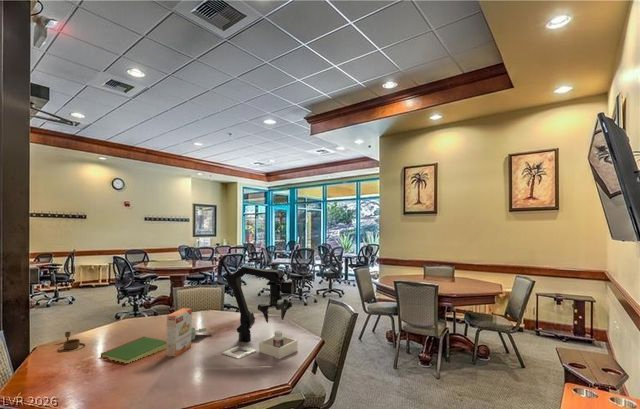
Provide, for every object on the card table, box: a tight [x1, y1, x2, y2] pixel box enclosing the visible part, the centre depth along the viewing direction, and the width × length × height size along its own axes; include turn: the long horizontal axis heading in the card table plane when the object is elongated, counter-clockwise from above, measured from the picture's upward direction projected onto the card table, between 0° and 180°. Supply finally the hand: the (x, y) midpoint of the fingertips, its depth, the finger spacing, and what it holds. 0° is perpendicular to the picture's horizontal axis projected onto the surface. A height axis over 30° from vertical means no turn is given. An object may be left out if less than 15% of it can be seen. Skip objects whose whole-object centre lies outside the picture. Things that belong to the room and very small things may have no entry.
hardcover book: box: [100, 336, 166, 364], centre depth 175 cm, size 25×19×4 cm
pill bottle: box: [272, 330, 284, 348], centre depth 177 cm, size 5×5×10 cm
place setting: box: [57, 331, 86, 353], centre depth 184 cm, size 18×20×6 cm
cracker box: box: [165, 307, 193, 358], centre depth 177 cm, size 14×6×21 cm, turn 169°
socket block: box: [221, 344, 257, 360], centre depth 174 cm, size 12×12×2 cm
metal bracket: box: [191, 327, 214, 340], centre depth 201 cm, size 14×6×15 cm
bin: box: [258, 335, 298, 360], centre depth 177 cm, size 14×14×6 cm
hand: (274, 321), depth 190 cm, fingers open, 9 cm apart
